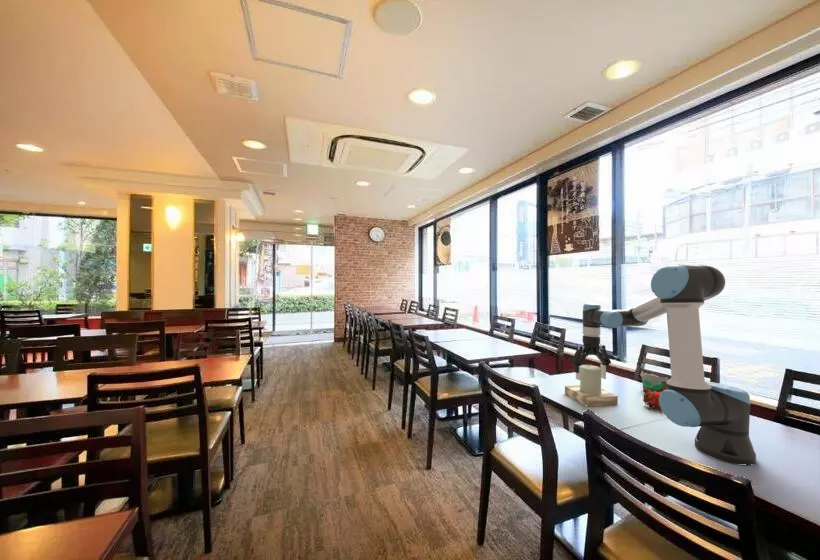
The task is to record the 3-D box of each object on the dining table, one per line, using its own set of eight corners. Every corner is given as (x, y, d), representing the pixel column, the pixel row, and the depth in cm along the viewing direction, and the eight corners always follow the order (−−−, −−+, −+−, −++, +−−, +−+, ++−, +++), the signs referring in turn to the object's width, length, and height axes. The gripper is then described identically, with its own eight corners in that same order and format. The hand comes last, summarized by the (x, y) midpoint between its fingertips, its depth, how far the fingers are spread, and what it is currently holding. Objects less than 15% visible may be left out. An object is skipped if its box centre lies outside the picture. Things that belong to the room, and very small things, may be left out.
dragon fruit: (639, 409, 150) (666, 414, 149) (651, 405, 143) (680, 410, 142) (635, 391, 155) (661, 395, 154) (647, 386, 148) (674, 390, 147)
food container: (634, 390, 170) (635, 371, 170) (641, 389, 173) (642, 370, 173) (661, 399, 159) (661, 378, 159) (668, 397, 162) (668, 377, 161)
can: (595, 387, 163) (596, 364, 162) (605, 394, 153) (605, 369, 153) (576, 387, 164) (577, 363, 163) (584, 393, 154) (585, 368, 154)
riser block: (617, 404, 152) (617, 395, 152) (587, 406, 149) (587, 398, 149) (592, 392, 168) (592, 384, 168) (564, 393, 165) (565, 386, 165)
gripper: (607, 333, 164) (607, 375, 164) (563, 334, 159) (562, 377, 160) (619, 336, 156) (619, 379, 157) (573, 337, 152) (573, 382, 152)
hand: (590, 378), depth 158 cm, fingers open, 13 cm apart
